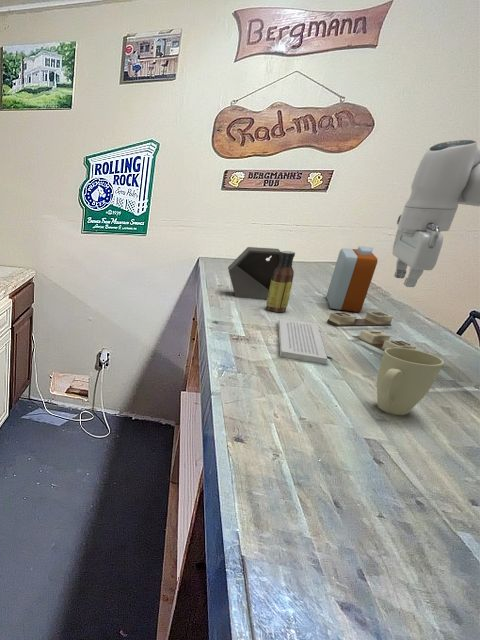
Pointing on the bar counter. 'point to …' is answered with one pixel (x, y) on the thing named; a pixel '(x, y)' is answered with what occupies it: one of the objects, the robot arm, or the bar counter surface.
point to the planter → (254, 272)
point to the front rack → (373, 338)
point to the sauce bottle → (281, 283)
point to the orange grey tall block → (351, 279)
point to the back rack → (369, 320)
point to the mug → (405, 378)
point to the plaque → (301, 341)
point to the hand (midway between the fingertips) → (403, 281)
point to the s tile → (397, 344)
